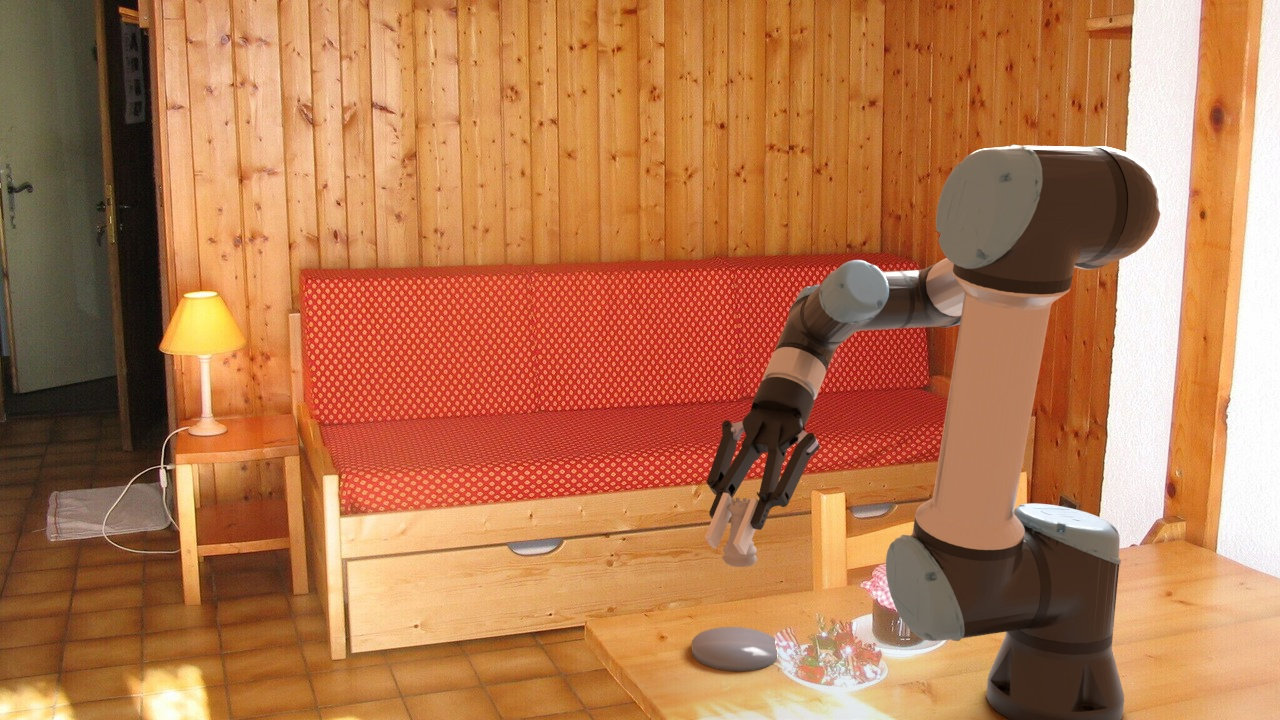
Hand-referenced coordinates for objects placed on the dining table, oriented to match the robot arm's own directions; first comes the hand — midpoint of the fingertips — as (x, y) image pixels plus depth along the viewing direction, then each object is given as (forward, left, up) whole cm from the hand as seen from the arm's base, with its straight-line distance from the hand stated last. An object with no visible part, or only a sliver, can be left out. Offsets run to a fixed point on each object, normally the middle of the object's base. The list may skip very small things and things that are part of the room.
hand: (725, 545), depth 156 cm
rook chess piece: (0, -4, -3) cm, 5 cm away
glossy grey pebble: (0, -3, -15) cm, 15 cm away
